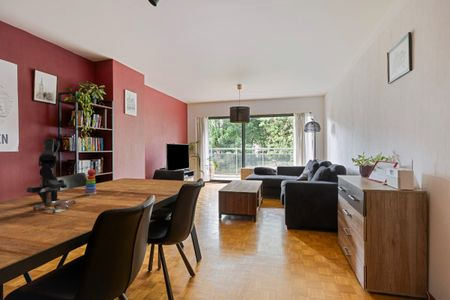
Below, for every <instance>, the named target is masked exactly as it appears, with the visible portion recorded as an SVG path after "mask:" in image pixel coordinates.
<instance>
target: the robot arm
mask: <svg viewBox="0 0 450 300" xmlns="http://www.w3.org/2000/svg"><path fill="white" fill-rule="evenodd" d="M42 147H44V151H41V153H40V155H39V156H38V157H39V158H38V167H41V168H40V170H39V171H38V172H39V173H38V174H39V175H40V177H39V178H40V180H41V184H40V185H39V186H34V185H33V186H28V187H27V188H26V193H30V194H37V195H38V196H39V197H40V199H41V201H42V202H43V203H42V204H44V203H46V193H47V192H51V202H54V201H59V200H60V198H58V192H60V191H61V189H67V187H68V184H67V183H65V181H64V179H58V177H57V176H56V165H57V164H58V157H57V155H56V153H57V152H58V150H59V148H60V140H57V139H56V138H50V137H49V138H45V139H44V140H43V141H42Z"/></svg>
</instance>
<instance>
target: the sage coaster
mask: <svg viewBox="0 0 450 300" xmlns="http://www.w3.org/2000/svg"><path fill="white" fill-rule="evenodd" d="M66 211H67V210H66V208H65V209H64V208H59V209H56V213H62V212H66ZM51 212H52V213H53V210H51Z"/></svg>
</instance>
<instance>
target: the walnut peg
mask: <svg viewBox="0 0 450 300" xmlns="http://www.w3.org/2000/svg"><path fill="white" fill-rule="evenodd" d="M51 206H52V204H51V192H47V193H46V203H45V205H44V207H48V208H50V207H51Z"/></svg>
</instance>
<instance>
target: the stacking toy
mask: <svg viewBox="0 0 450 300" xmlns="http://www.w3.org/2000/svg"><path fill="white" fill-rule="evenodd" d="M86 173H87V176H86V178H87V179H86V182H85V183H86V184H85V189H84V192H83V193H84V195H85V196H94V195H96V194H97V185H96V182H97V181H96V176H95V174H96V170H95V169H93V168H91V169H89V170H88V171H87V172H86Z"/></svg>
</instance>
